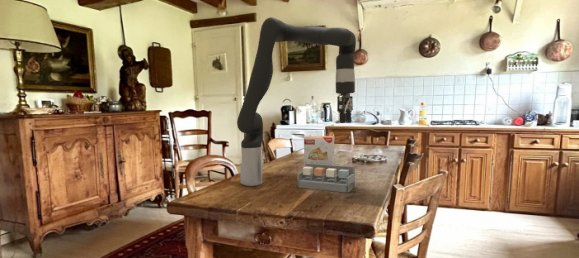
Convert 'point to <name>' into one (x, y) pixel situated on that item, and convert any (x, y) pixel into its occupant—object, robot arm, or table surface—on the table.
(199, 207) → the table surface
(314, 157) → the cracker box
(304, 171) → the ivory key
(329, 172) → the ivory key
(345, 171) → the key blue
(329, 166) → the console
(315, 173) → the key terracotta
